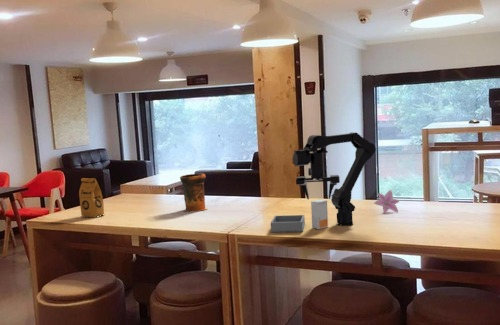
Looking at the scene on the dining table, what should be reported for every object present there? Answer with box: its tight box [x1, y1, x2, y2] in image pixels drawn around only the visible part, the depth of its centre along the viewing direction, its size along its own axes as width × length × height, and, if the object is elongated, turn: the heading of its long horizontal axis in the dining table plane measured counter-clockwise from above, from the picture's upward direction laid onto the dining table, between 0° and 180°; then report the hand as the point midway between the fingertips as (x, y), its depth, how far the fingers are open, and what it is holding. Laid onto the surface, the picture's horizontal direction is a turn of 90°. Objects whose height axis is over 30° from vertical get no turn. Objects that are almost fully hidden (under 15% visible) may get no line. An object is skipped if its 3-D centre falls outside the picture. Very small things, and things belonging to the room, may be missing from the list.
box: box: [270, 214, 306, 234], centre depth 211 cm, size 14×14×4 cm
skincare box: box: [310, 199, 329, 230], centre depth 209 cm, size 6×4×12 cm
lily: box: [373, 189, 400, 214], centre depth 233 cm, size 12×12×10 cm
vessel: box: [179, 173, 208, 213], centre depth 268 cm, size 14×14×20 cm
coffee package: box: [78, 177, 105, 218], centre depth 268 cm, size 10×12×22 cm
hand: (318, 199), depth 208 cm, fingers open, 9 cm apart
